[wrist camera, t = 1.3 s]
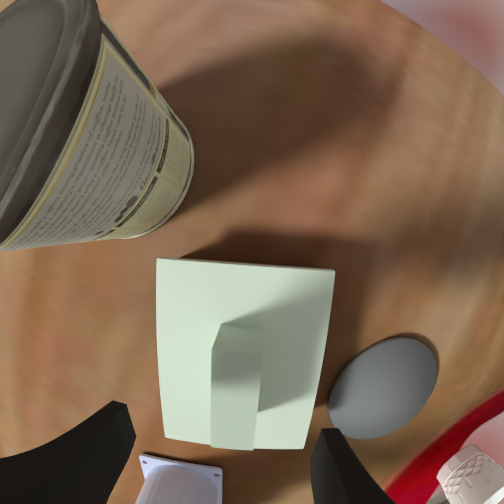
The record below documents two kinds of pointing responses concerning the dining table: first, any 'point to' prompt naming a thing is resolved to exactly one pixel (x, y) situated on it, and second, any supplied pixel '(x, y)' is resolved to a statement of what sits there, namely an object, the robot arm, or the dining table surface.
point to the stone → (382, 388)
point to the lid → (240, 351)
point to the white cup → (472, 478)
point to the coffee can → (81, 132)
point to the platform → (439, 499)
